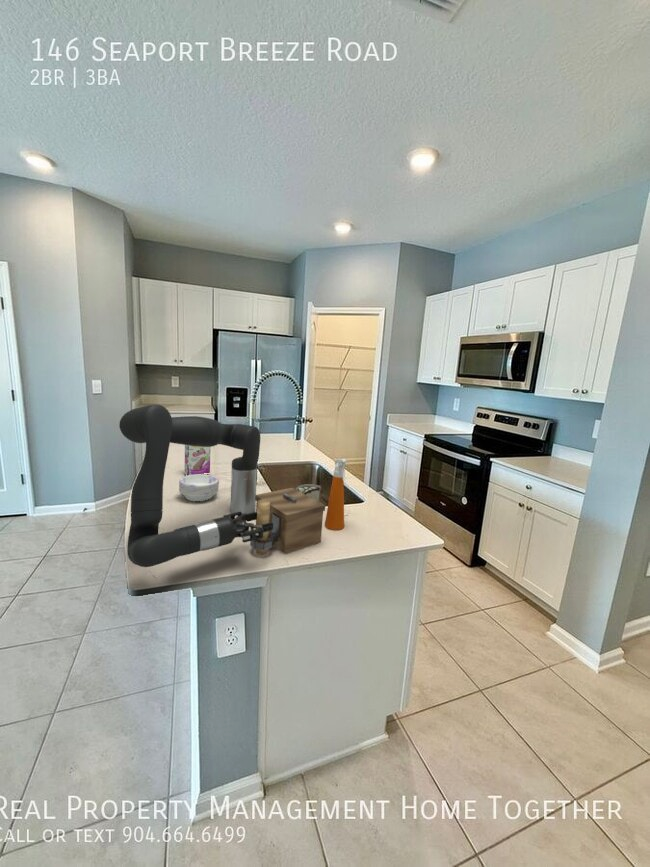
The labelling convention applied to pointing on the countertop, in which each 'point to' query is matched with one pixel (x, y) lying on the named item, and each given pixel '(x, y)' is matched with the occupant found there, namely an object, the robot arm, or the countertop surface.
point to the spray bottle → (336, 498)
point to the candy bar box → (197, 460)
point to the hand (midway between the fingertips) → (265, 520)
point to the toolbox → (295, 518)
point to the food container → (310, 490)
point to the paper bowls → (198, 487)
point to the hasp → (272, 537)
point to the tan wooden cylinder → (263, 521)
